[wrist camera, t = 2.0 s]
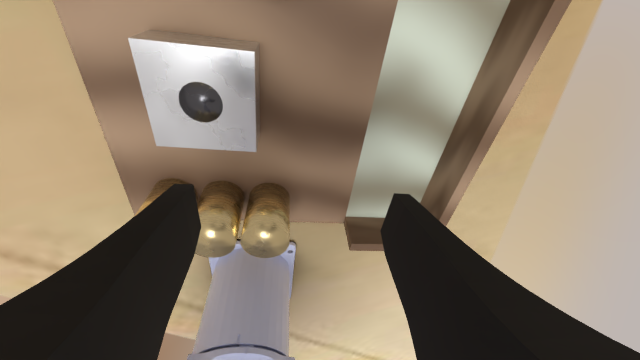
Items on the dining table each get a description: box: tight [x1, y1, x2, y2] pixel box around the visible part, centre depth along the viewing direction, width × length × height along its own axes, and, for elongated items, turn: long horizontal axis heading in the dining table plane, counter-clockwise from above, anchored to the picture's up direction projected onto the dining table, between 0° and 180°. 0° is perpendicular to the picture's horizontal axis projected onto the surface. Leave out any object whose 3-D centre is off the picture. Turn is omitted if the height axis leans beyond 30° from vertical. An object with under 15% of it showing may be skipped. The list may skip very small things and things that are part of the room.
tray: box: [53, 0, 571, 251], centre depth 17 cm, size 20×24×4 cm
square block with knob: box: [128, 30, 260, 152], centre depth 15 cm, size 6×6×2 cm
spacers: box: [134, 178, 290, 258], centre depth 15 cm, size 19×10×4 cm, turn 173°
